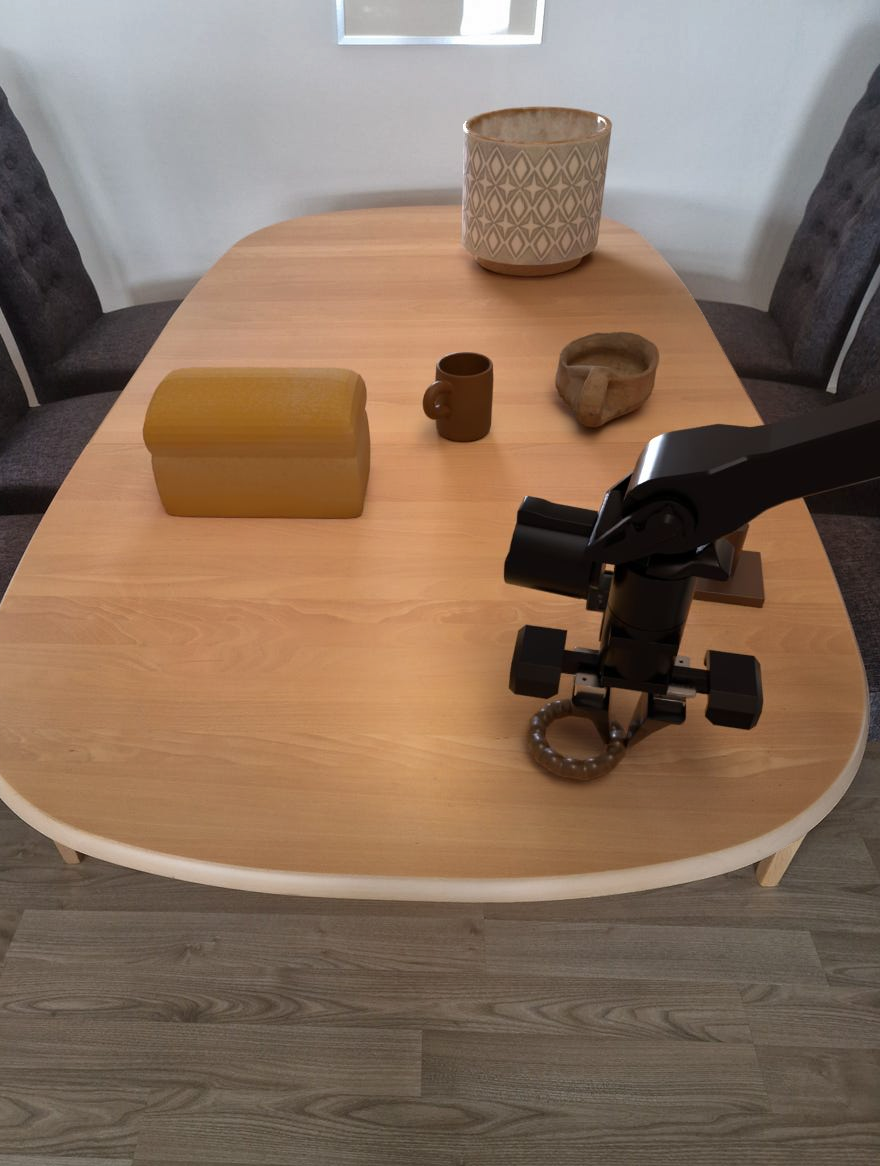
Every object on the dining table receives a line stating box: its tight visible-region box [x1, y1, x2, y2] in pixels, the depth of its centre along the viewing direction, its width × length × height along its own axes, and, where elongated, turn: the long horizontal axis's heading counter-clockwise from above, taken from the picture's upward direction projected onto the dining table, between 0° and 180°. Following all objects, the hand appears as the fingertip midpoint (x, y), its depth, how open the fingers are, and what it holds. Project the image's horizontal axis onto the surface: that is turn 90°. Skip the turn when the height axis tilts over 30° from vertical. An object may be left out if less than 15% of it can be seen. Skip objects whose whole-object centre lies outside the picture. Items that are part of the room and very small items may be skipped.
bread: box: [142, 366, 371, 519], centre depth 100 cm, size 24×13×15 cm, turn 86°
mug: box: [422, 351, 494, 443], centre depth 110 cm, size 12×8×9 cm, turn 140°
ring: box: [525, 697, 627, 781], centre depth 72 cm, size 8×8×2 cm
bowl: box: [554, 331, 660, 428], centre depth 113 cm, size 18×14×10 cm
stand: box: [693, 523, 766, 609], centre depth 87 cm, size 8×8×7 cm
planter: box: [461, 106, 613, 277], centre depth 152 cm, size 26×26×22 cm
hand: (617, 742), depth 71 cm, fingers closed on ring, 1 cm apart
